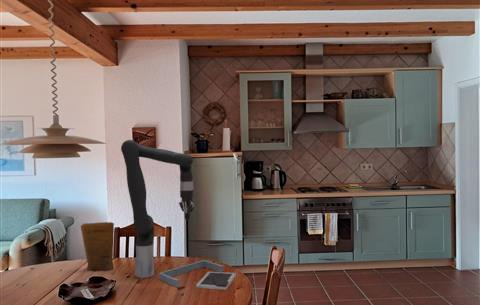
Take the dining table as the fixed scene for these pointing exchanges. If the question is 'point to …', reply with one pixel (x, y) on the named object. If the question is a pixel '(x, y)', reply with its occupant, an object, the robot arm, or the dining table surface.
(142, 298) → the dining table surface
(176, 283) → the open-front box
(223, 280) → the picture frame
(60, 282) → the dining table surface
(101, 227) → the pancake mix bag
